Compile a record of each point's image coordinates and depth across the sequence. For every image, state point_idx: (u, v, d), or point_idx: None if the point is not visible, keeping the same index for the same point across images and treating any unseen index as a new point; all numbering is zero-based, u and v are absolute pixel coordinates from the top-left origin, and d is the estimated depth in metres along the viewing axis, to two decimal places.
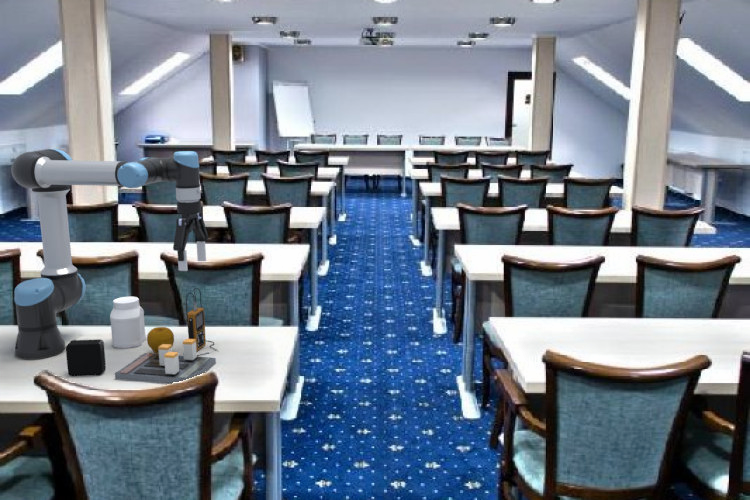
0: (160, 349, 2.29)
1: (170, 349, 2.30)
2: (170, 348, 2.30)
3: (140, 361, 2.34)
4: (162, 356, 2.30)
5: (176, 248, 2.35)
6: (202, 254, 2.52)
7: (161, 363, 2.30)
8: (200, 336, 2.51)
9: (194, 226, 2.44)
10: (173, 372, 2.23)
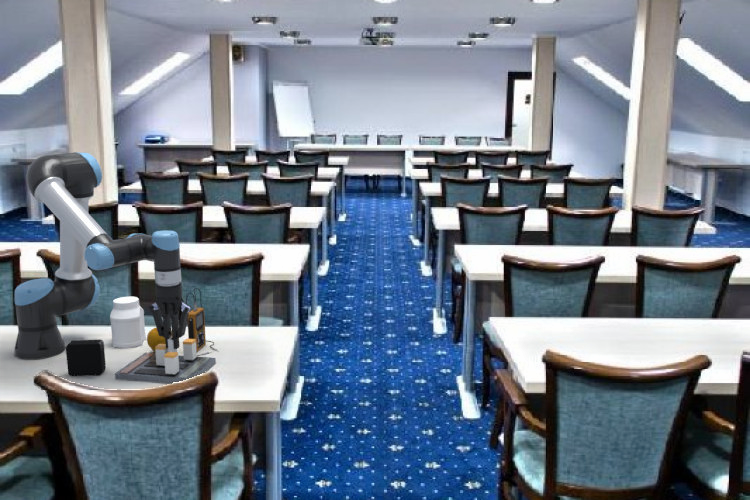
0: (157, 349, 2.29)
1: (167, 349, 2.31)
2: (167, 348, 2.31)
3: (140, 361, 2.34)
4: (159, 356, 2.30)
5: None
6: None
7: (158, 363, 2.30)
8: (200, 336, 2.51)
9: None
10: (173, 372, 2.23)
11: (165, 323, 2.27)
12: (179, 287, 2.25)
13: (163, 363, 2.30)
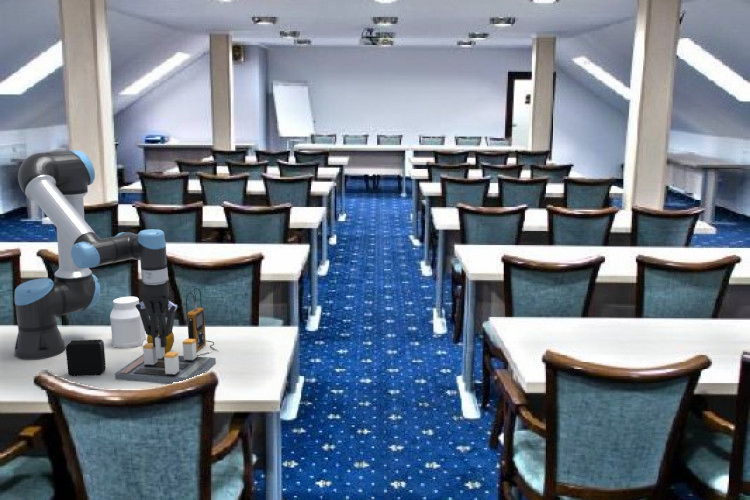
0: (145, 348, 2.30)
1: (155, 348, 2.31)
2: (155, 347, 2.31)
3: (140, 361, 2.34)
4: (147, 355, 2.31)
5: None
6: None
7: (146, 362, 2.31)
8: (200, 336, 2.51)
9: None
10: (173, 372, 2.23)
11: (152, 322, 2.28)
12: (166, 286, 2.25)
13: (151, 362, 2.31)
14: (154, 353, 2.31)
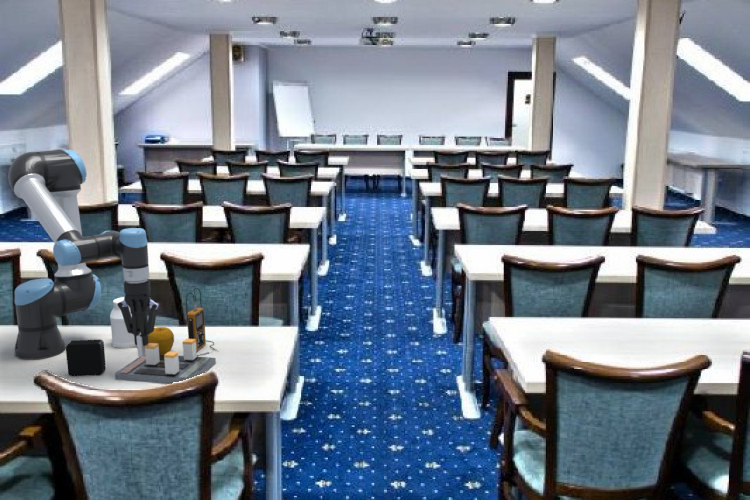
0: (147, 348, 2.30)
1: (157, 348, 2.31)
2: (157, 347, 2.31)
3: (140, 361, 2.34)
4: (149, 355, 2.30)
5: None
6: None
7: (148, 362, 2.31)
8: (200, 336, 2.51)
9: None
10: (173, 372, 2.23)
11: (134, 320, 2.29)
12: (147, 284, 2.26)
13: (153, 362, 2.31)
14: (156, 353, 2.31)
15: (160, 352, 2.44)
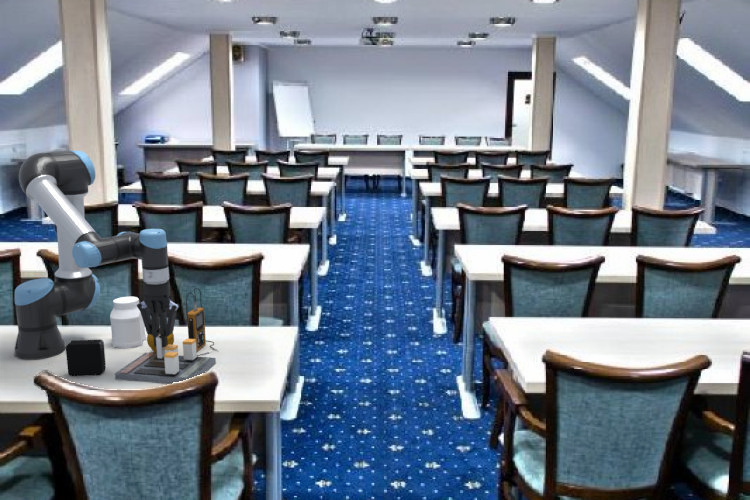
0: (166, 349, 2.29)
1: (176, 349, 2.30)
2: (176, 348, 2.30)
3: (140, 361, 2.34)
4: None
5: None
6: None
7: None
8: (200, 336, 2.51)
9: None
10: (173, 372, 2.23)
11: (153, 321, 2.28)
12: (167, 285, 2.25)
13: None
14: None
15: None
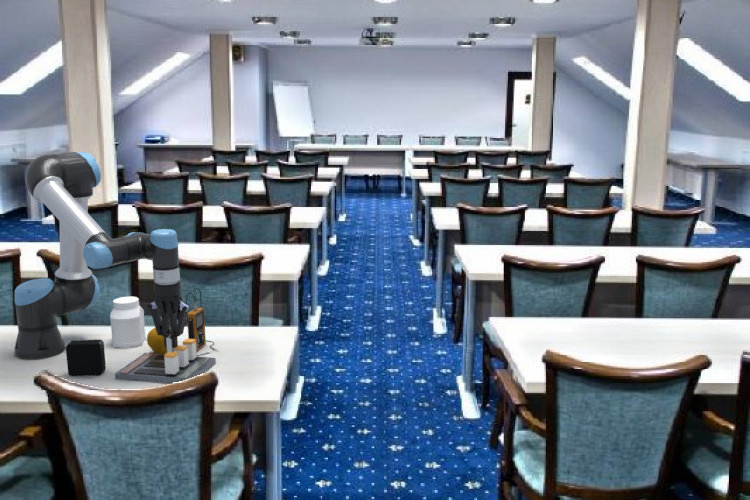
0: (176, 350, 2.28)
1: (186, 350, 2.29)
2: (186, 349, 2.29)
3: (140, 361, 2.34)
4: (178, 357, 2.28)
5: None
6: None
7: None
8: (200, 336, 2.51)
9: None
10: (173, 372, 2.23)
11: (164, 322, 2.27)
12: (177, 286, 2.24)
13: (182, 364, 2.29)
14: (185, 355, 2.29)
15: (160, 352, 2.44)
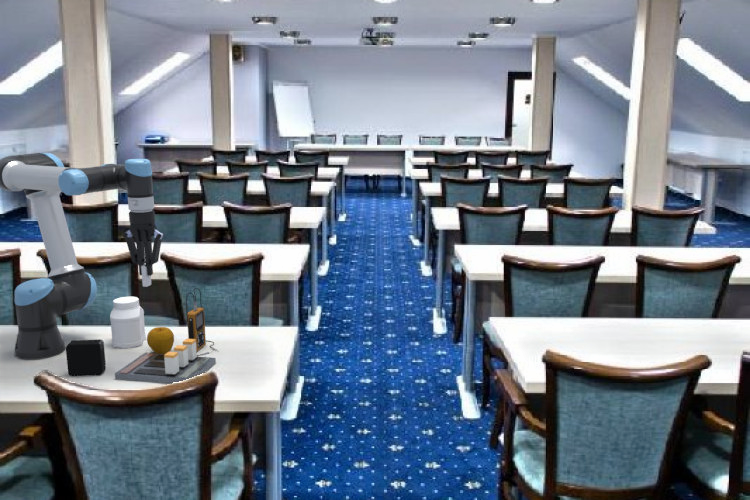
0: (176, 350, 2.28)
1: (185, 350, 2.29)
2: (185, 349, 2.29)
3: (140, 361, 2.34)
4: (178, 357, 2.28)
5: None
6: None
7: None
8: (200, 336, 2.51)
9: None
10: (173, 372, 2.23)
11: (138, 250, 2.33)
12: (152, 214, 2.30)
13: (182, 364, 2.29)
14: (185, 355, 2.29)
15: (160, 352, 2.44)
